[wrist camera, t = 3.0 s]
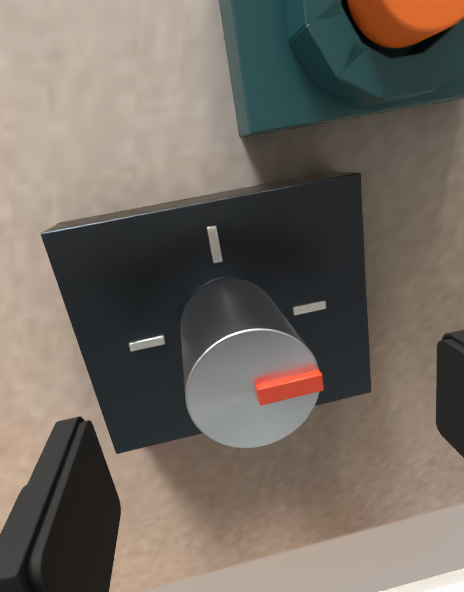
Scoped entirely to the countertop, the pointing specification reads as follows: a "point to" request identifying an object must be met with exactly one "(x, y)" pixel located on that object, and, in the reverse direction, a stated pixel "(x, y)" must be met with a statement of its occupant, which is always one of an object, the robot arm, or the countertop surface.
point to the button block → (328, 65)
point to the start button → (404, 19)
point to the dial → (245, 366)
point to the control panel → (201, 271)
